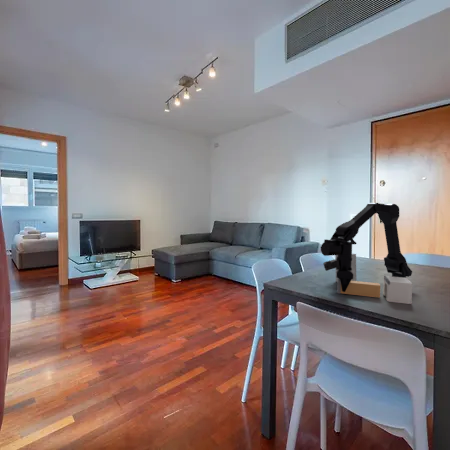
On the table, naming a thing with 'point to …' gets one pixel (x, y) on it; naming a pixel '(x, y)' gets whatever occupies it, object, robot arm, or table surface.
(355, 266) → the skincare box
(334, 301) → the table surface
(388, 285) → the block
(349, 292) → the plug
